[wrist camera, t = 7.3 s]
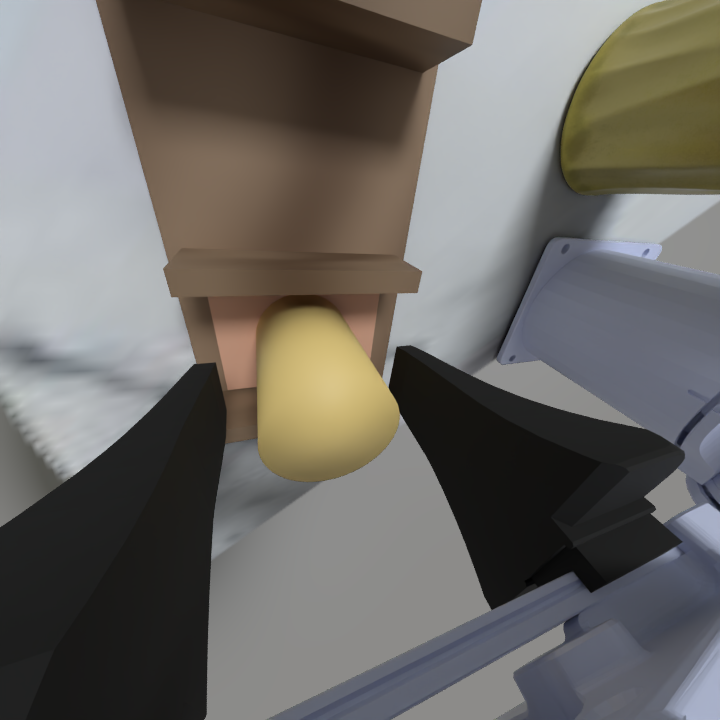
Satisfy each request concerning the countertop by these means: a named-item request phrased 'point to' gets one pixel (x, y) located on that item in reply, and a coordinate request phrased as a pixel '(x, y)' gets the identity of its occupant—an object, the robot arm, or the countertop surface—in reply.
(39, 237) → the countertop surface
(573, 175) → the vase
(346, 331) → the peg
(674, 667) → the robot arm
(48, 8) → the countertop surface
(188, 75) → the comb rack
